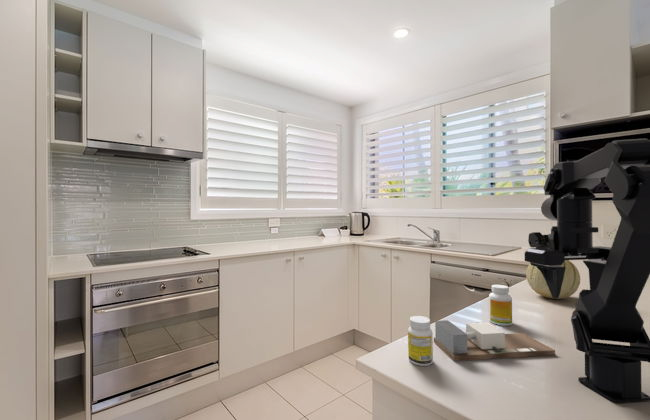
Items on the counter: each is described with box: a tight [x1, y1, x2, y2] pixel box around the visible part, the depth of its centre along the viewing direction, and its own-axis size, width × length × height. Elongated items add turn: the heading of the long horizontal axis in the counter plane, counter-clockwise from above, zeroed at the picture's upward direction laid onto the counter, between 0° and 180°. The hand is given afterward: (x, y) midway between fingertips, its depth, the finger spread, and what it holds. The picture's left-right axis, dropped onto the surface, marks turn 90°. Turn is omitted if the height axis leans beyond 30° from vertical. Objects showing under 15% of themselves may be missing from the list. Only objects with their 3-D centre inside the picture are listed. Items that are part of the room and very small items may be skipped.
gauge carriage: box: [465, 321, 506, 353], centre depth 66 cm, size 8×8×3 cm
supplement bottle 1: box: [407, 315, 434, 367], centre depth 62 cm, size 5×5×8 cm
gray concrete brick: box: [434, 319, 467, 355], centre depth 66 cm, size 3×8×4 cm, turn 6°
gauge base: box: [433, 332, 556, 362], centre depth 67 cm, size 22×9×1 cm, turn 95°
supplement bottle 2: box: [488, 284, 513, 327], centre depth 82 cm, size 5×5×10 cm
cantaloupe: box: [525, 260, 581, 300], centre depth 104 cm, size 15×15×15 cm
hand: (575, 296), depth 64 cm, fingers open, 9 cm apart
